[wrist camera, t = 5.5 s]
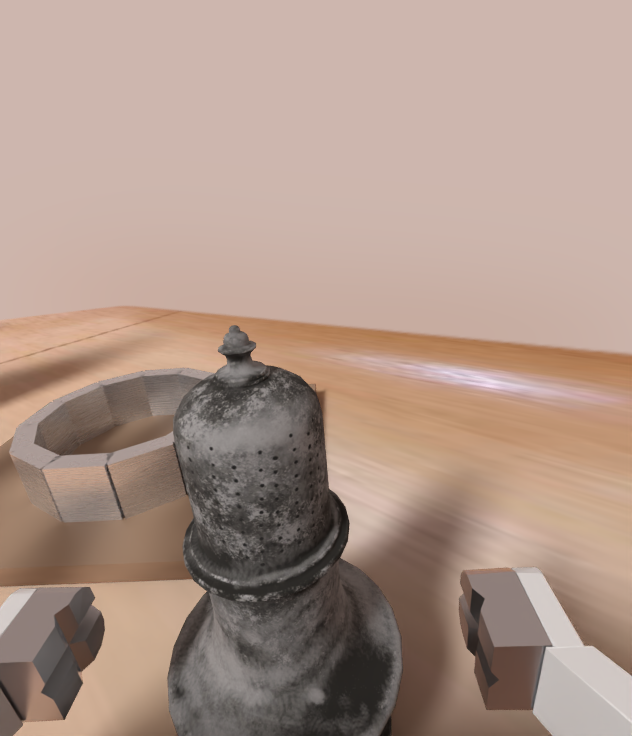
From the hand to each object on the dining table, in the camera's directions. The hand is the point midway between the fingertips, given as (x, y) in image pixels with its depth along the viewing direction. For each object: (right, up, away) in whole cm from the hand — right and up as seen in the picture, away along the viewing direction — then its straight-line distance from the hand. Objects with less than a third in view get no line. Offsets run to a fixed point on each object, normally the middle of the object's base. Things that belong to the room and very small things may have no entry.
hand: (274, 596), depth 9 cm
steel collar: (-9, -1, +15) cm, 18 cm away
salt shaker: (0, -5, +3) cm, 6 cm away
